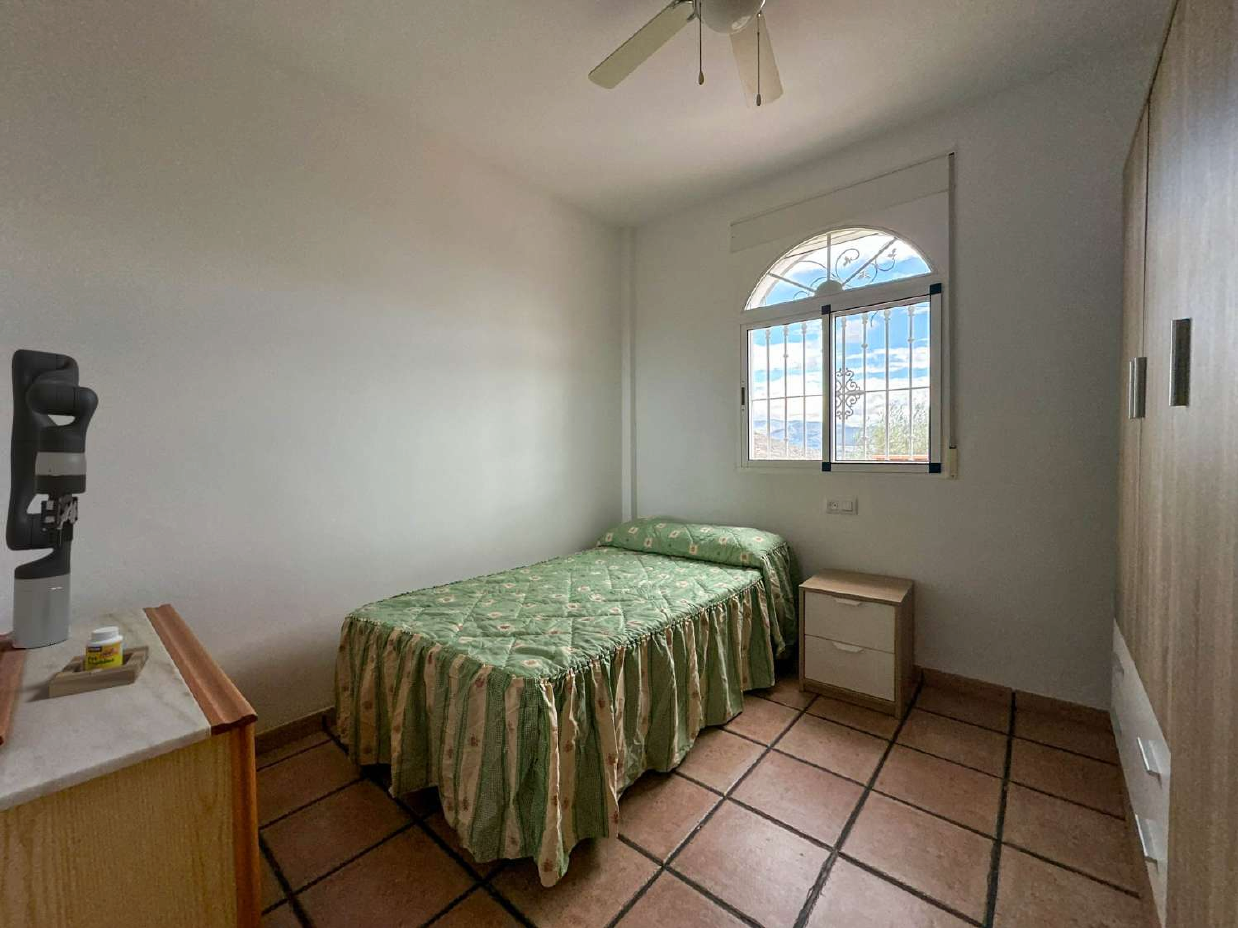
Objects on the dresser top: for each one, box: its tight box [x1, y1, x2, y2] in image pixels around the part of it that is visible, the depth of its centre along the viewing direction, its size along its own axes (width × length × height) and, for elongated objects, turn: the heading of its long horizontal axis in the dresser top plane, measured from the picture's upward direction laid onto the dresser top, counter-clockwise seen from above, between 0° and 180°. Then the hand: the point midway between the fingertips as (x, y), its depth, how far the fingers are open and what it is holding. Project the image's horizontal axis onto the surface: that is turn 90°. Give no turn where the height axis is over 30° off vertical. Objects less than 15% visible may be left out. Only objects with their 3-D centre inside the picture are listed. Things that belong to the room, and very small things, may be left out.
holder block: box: [48, 644, 150, 699], centre depth 104 cm, size 16×12×3 cm
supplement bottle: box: [85, 626, 124, 671], centre depth 104 cm, size 6×6×10 cm
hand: (59, 544), depth 107 cm, fingers open, 8 cm apart
